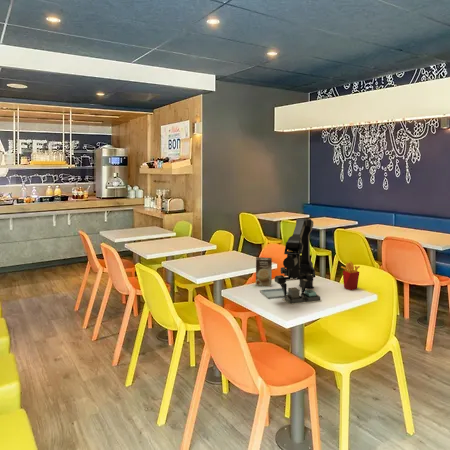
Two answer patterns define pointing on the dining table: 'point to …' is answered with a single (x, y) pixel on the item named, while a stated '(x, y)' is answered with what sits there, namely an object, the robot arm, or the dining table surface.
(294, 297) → the block
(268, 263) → the coffee box
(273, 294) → the tray
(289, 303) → the double socket holder
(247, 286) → the dining table surface
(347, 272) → the french fries
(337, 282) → the dining table surface
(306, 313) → the dining table surface
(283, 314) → the dining table surface
